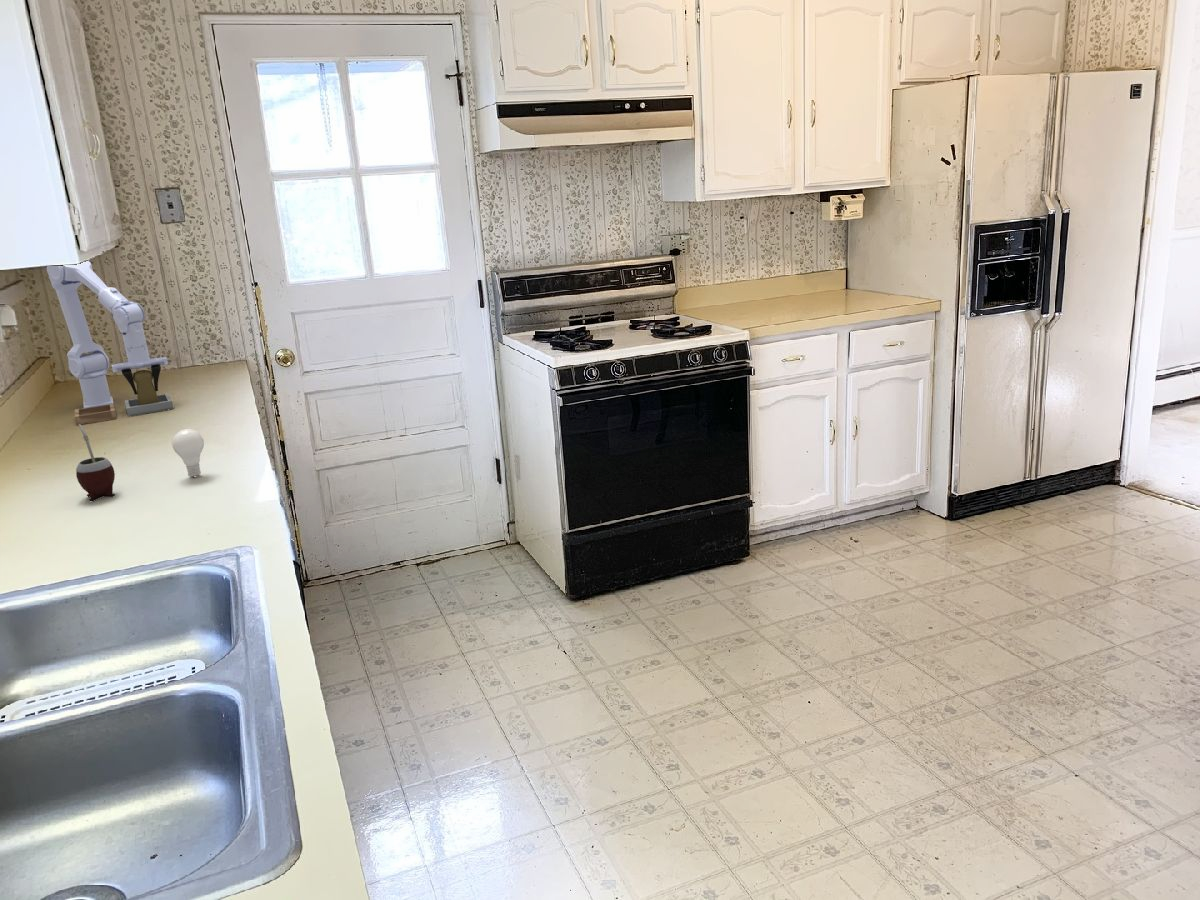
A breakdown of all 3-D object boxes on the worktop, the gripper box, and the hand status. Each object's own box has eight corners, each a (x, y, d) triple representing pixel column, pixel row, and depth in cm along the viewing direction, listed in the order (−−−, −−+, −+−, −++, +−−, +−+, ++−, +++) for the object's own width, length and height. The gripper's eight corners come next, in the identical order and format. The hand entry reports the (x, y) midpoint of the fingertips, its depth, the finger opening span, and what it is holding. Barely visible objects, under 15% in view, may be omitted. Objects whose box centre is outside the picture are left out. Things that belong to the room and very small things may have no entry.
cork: (164, 404, 269) (157, 367, 266) (154, 409, 263) (146, 372, 260) (145, 405, 269) (137, 368, 266) (134, 410, 264) (125, 373, 260)
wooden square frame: (76, 418, 262) (74, 409, 261) (115, 411, 266) (113, 403, 265) (76, 425, 253) (74, 416, 253) (116, 418, 258) (114, 410, 257)
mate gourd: (104, 502, 190) (87, 433, 185) (71, 502, 191) (53, 434, 187) (127, 489, 197) (112, 423, 192) (95, 489, 198) (79, 423, 194)
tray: (126, 408, 269) (124, 400, 268) (170, 401, 275) (168, 393, 274) (128, 416, 259) (126, 408, 258) (173, 409, 265) (171, 401, 264)
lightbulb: (215, 475, 203) (205, 428, 199) (187, 483, 198) (177, 435, 195) (202, 470, 207) (192, 423, 203) (174, 478, 202) (164, 431, 199)
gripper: (108, 352, 255) (119, 399, 259) (164, 344, 261) (174, 390, 265) (107, 348, 260) (118, 394, 265) (162, 341, 267) (172, 386, 271)
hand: (146, 392), depth 265 cm, fingers closed on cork, 5 cm apart
